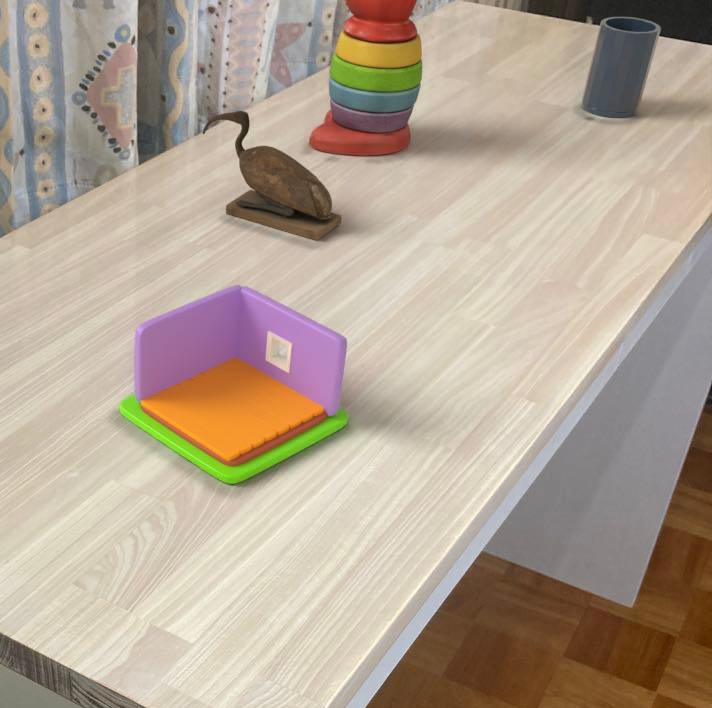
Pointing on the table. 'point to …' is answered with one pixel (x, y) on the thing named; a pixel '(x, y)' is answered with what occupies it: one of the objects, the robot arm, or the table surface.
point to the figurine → (279, 189)
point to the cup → (620, 66)
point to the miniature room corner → (236, 382)
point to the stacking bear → (372, 80)
